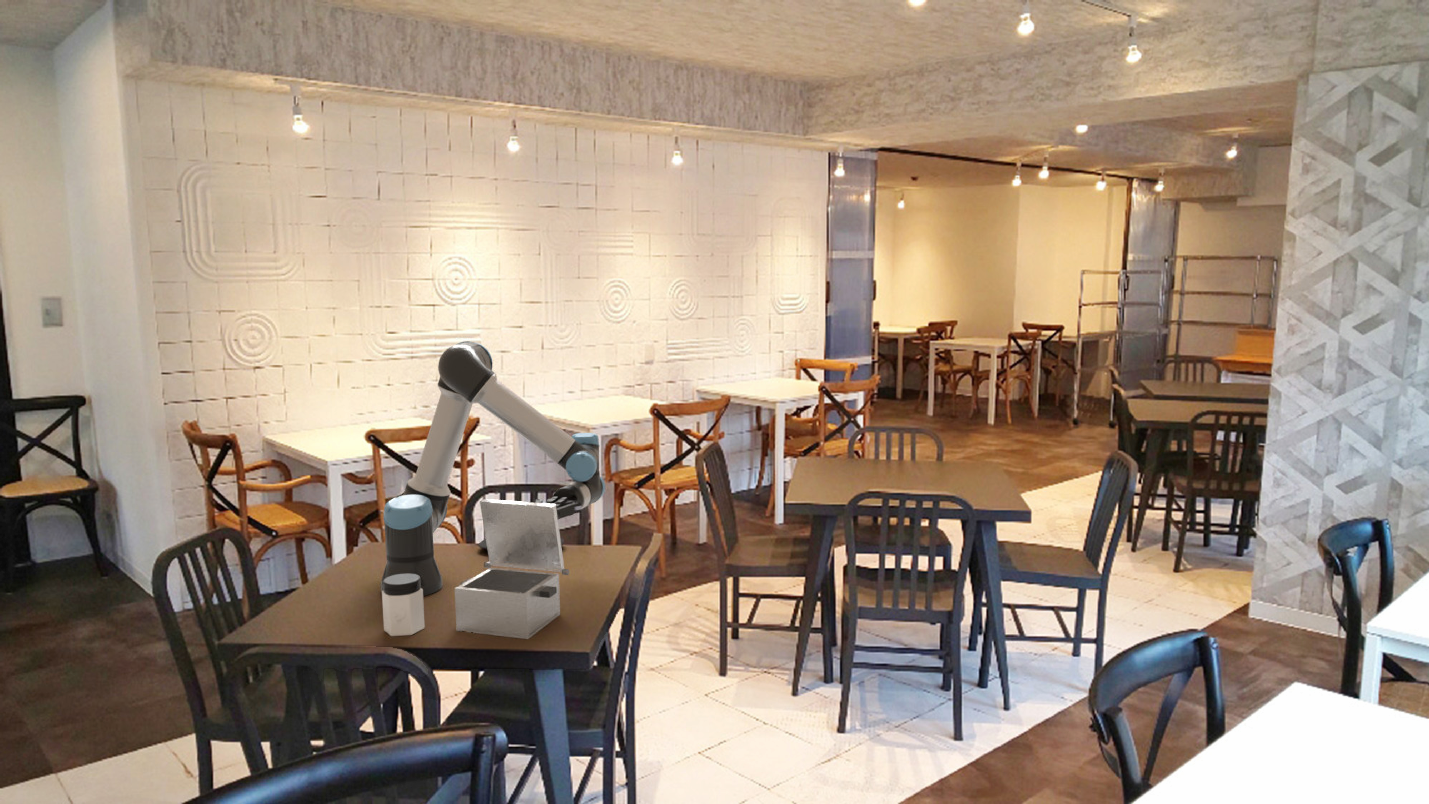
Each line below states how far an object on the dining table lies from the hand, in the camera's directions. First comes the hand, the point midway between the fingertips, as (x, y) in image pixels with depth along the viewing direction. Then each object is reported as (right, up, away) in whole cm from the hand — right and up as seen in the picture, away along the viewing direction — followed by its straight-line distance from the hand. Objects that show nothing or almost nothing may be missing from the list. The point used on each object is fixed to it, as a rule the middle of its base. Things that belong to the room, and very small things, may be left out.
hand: (529, 521), depth 229 cm
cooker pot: (-3, -23, -5) cm, 23 cm away
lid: (-2, -3, -2) cm, 4 cm away
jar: (-27, -24, -10) cm, 37 cm away
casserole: (-12, -15, +53) cm, 56 cm away
